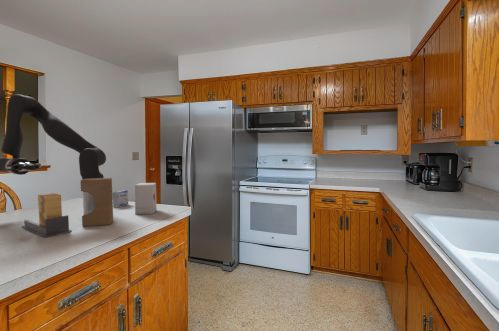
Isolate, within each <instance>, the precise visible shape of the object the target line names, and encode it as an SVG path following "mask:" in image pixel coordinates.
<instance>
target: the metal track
mask: <svg viewBox="0 0 499 331" xmlns="http://www.w3.org/2000/svg"><path fill="white" fill-rule="evenodd" d="M23 221H24V225H23V224H21V228H22V229H24V230H26V231H29V232H31V233H34V234H35V235H37V236H40V237H42V238H45V239H46V238H51V237H54V236H59V235H63V234H67V233H72V229H70V224H69V223H70V222H69V221H70V220H69V215H62V216H60V217H55V218H49V219H45V227H44V226H42V225H39V221H38V222H34V221H32V220H29V219H24V220H23Z"/></svg>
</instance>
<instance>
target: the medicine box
mask: <svg viewBox="0 0 499 331" xmlns="http://www.w3.org/2000/svg"><path fill="white" fill-rule="evenodd" d="M112 199H113V208H121V207H120V206H122V207H124V206H123V205H125V204H128V205H129V191H128V190H127V189H122V190H121V189H120V190H117V191H112ZM125 206H126V205H125Z"/></svg>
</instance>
